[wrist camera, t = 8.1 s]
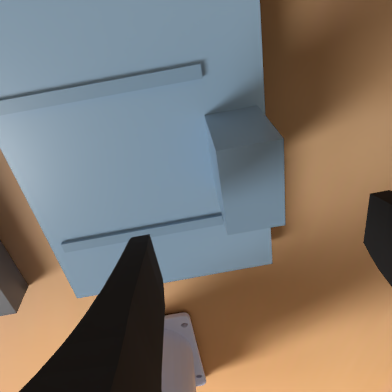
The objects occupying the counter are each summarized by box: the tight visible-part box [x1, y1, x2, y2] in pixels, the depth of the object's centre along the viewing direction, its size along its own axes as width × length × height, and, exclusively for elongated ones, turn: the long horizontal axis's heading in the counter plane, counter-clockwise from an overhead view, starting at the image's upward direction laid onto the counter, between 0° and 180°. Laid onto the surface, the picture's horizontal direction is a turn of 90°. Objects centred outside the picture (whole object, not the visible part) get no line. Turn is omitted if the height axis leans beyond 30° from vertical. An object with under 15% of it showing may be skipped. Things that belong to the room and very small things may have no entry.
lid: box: [0, 0, 285, 298], centre depth 16 cm, size 16×12×5 cm
